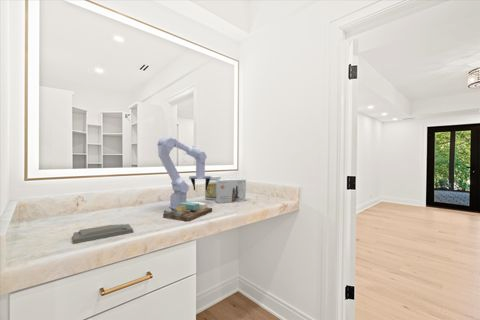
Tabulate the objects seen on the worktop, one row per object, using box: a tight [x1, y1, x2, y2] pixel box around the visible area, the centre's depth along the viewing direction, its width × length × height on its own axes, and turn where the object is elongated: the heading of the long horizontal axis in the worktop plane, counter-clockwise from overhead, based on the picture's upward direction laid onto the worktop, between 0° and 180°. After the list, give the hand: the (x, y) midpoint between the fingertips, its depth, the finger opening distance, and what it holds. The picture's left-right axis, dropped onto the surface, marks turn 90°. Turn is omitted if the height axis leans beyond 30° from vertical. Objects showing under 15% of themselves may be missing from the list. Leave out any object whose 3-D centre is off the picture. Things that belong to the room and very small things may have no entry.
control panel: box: [162, 207, 213, 222], centre depth 120 cm, size 16×22×4 cm
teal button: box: [179, 201, 199, 210], centre depth 120 cm, size 10×5×2 cm, turn 66°
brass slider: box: [177, 205, 187, 214], centre depth 113 cm, size 3×4×4 cm
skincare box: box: [215, 178, 247, 204], centre depth 156 cm, size 21×6×16 cm, turn 118°
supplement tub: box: [204, 175, 221, 201], centre depth 166 cm, size 12×12×17 cm
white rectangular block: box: [191, 201, 208, 209], centre depth 128 cm, size 10×5×2 cm, turn 65°
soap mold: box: [72, 223, 134, 245], centre depth 89 cm, size 10×20×4 cm, turn 128°
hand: (200, 189), depth 147 cm, fingers open, 7 cm apart
